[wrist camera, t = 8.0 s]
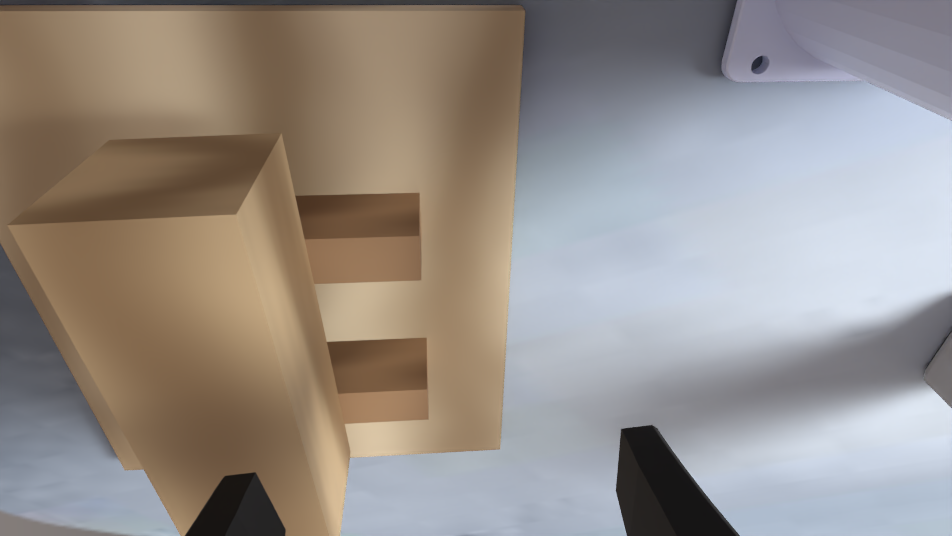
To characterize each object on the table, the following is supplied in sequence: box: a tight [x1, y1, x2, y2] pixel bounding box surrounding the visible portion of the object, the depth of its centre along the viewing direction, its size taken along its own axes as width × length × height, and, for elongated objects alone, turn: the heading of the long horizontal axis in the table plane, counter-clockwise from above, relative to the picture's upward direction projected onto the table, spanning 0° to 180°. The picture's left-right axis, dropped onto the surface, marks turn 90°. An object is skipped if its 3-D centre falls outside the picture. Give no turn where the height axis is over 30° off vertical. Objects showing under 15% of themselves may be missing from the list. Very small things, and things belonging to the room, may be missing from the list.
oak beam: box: [7, 133, 351, 536], centre depth 15 cm, size 4×12×4 cm, turn 1°
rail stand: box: [0, 5, 525, 470], centre depth 19 cm, size 16×18×3 cm
